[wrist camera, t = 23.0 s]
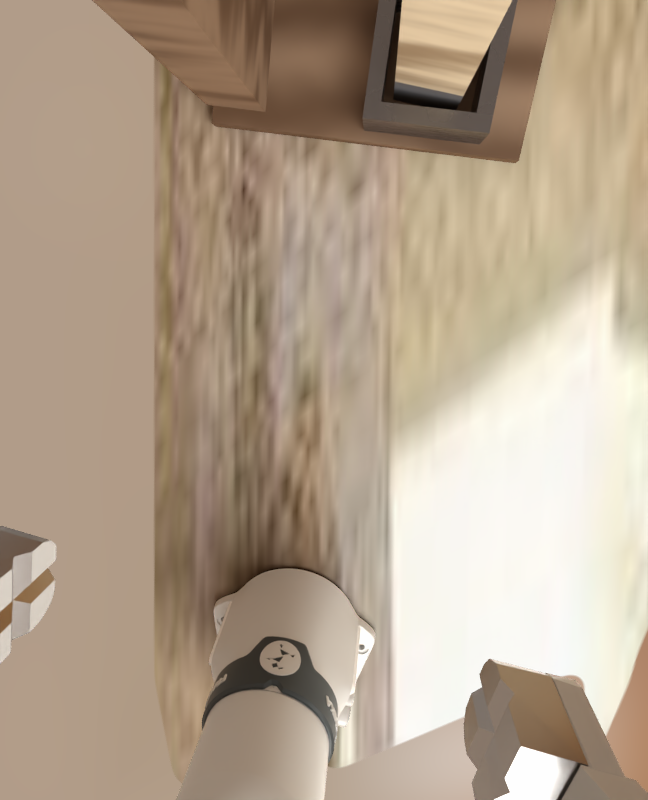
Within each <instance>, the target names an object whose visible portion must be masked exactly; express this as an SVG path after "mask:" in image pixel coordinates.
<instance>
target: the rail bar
mask: <svg viewBox="0 0 648 800" xmlns="http://www.w3.org/2000/svg"><path fill="white" fill-rule="evenodd" d="M511 2H512V0H402V8H401V19H400V30H399V41H398V53H397V64H396V75H395V86H394V98H393V100H397V101H401V102H406V103H410V104H415V105H419V106H424V107H431V108H440V109H449V110H457V108H458V106H459V104H460V102H461V100H462V98H463V96H464V94H465V92H466V90H467V88H468V86H469V84H470V82H471V80H472V78H473V76H474V74H475V72H476V71H477V69H478V67H479V65H480V63H481V61H482V59H483V57H484V55H485V53H486V51H487V49H488V47H489V45H490V43H491V41H492V39H493V37H494V35H495V33H496V31H497V29H498V27H499V26H500V24H501V22H502V20H503V18H504V16H505V14H506V12H507V10H508V8H509V6H510V4H511Z"/></svg>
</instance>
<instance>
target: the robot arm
mask: <svg viewBox="0 0 648 800" xmlns="http://www.w3.org/2000/svg"><path fill="white" fill-rule="evenodd" d="M55 560H56V544H55V543H53V542H52V541H51V540H48V539H44V538H41V537H37V536H34V535H31V534H27V533H24V532H21V531H17V530H14V529H10V528H7V527H4V526H0V663H1V662H2V661H3V660H4V659H5V658H6V657H7V656H8V655H9V654H10V653H11V642H12V640H13V639H15V638H18V637H20V636H22V635H24V634H27V633H29V632H30V631H31V630H32V629H33V628H34V627H35V626H36V625H37V624H38V622H39V621H40V620H41V619H42V617H43V615H44V614H45V612H46V610H47V609H48V607H49V605H50V603H51V600H52V596H53V593H54V586H55V579H54V577H53V575H52V574H51V572H50V570H49V569H48V567H49V566H50V565H51V564H52V563H53V562H54V561H55ZM213 613H214V619H215V626H216V632H217V638H216V641H215V643H214V646H213V649H212V652H211V654H210V658H209V665H211V671H212V677H213V680H214V686H213V688H212V690H211V691H210V694H209V696H208V699H207V702H206V706H205V711H204V715H203V718H202V733H201V735H200V738H199V741H198V743H197V746H196V749H195V751H194V754H193V756H192V759H191V762H190V764H189V767H188V770H187V772H186V775H185V778H184V780H183V783H182V786H181V789H180V791H179V794H178V796H177V799H176V800H324V795H325V786H326V776H327V765H328V763H329V761H330V759H331V757H332V754H333V751H334V745H335V742H336V738H337V730H338V726H341V727H346V726H347V724H348V721H349V717H350V711H351V707H352V705H353V702H354V697H355V693H354V691H355V685H356V681H357V679H358V677H359V674H360V672H361V670H362V668H363V666H364V664H365V662H366V660H367V658H368V656H369V654H370V652H371V649H372V647H373V645H374V643H375V636H376V634H375V631H374V630H373V628H372V627H371V626H370V625H368V624H367V623H366V622H365V621H364V620H362V619H361V618H360V617H359V616H358V615H357V614H356V612H355V610H354V609H353V607H352V605H351V603H350V601H349V600H348V598H347V597H346V596H345V594H344V593H343V592H342V591H341V590H340V589H339V588H338V587H337V586H336V585H334V584H333V583H332V582H330V581H329V580H327V579H325V578H324V577H322V576H320V575H317V574H315V573H312V572H309V571H305V570H300V569H289V568H286V569H275V570H271V571H267V572H264V573H262V574H260V575H258V576H256V577H254V578H253V579H251V580H250V581H249V582H247V583H246V584H245V585H244V586H243V587H242V588H241V589H240V590H239V591H238V592H236V593H234V594H231V595H228V596H225V597H222V598H220V599H219V600H218V601H217V602H216V604H215V607H214V611H213ZM359 644H363V645H359ZM480 679H481V683H482V688H480V689H478V690H477V691H475V692H473V693H472V694H471V696H470V699H469V702H468V704H467V707H466V712H465V720H464V739H465V746H466V752H467V755H468V756H469V758H470V759H471V761H472V762H473V764H474V765H475V767H476V768H477V769H478V770H477V772H476V775H475V777H474V779H473V781H472V786H473V791H474V797H475V800H648V793H647V792H646V791H645V790H644V789H643V788H642V787H641V786H640V785H639V784H638V783H637V782H636V780H633V779H629V778H626V777H625V776H624V773H623V772H622V769H621V767H620V765H619V763H618V761H617V759H616V757H615V755H614V753H613V751H612V749H611V747H610V745H609V743H608V741H607V738H606V736H605V734H604V732H603V730H602V728H601V726H600V724H599V722H598V720H597V718H596V716H595V713H594V711H593V709H592V707H591V705H590V703H589V701H588V699H587V697H586V695H585V693H584V691H583V689H582V687H581V686H580V685H579V684H578V683H577V682H576V681H575V680H572V679H568V678H564V677H560V676H556V675H552V674H548V673H545V674H544V673H542V672H539V671H535V670H531V669H527V668H523V667H519V666H516V665H512V664H508V663H504V662H500V661H496V660H493V659H489V660H488V661H487V662H486V663H485V664H484V666H483V668H482V670H481V673H480Z"/></svg>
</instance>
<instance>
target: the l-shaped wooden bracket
mask: <svg viewBox="0 0 648 800" xmlns="http://www.w3.org/2000/svg"><path fill="white" fill-rule="evenodd" d="M92 1H94V2H95V3H96V4H97V5H98V6H99V7H100V8H101V9H102V10H103V11H104V12H106V13H107V14H108V15H109V16H110V17H111V18H112V19H113V20H114V21H115V22H117V23H118V24H119V25H120V26H121V27H122V28H123V29H124V30H125V31H126V32H127V33H129V34H130V35H131V36H132V37H133V38H134V39H135V40H136V41H138V42H139V43H140V44H141V45H142V46H143V47H144V48H145V49H146V50H148V52H149V53H151V54H152V55H153V56H154V57H155V58H156V59H157V60H158V61H159V62H160V63H162V64H163V65H164V66H165V67H166V68H167V69H168V70H169V71H170V72H171V73H173V74H174V75H175V76H176V77H177V78H178V79H179V80H180V81H181V82H182V83H184V84H185V85H186V86H187V87H188V88H189V89H190V90H191V91H192V92H193V93H195V94H196V95H197V96H198V97H199V98H200V99H201V100H202V101H203V102H204V103H206V104H207V105H212V106H213V111H212V124H214V125H215V126H217V127H226V128H234V129H242V130H250V131H258V132H266V133H274V134H283V135H291V136H299V137H307V138H315V139H323V140H332V141H340V142H348V143H356V144H364V145H372V146H380V147H389V148H397V149H405V150H413V151H421V152H429V153H437V154H446V155H454V156H462V157H470V158H478V159H486V160H495V161H503V162H511V163H516V162H517V161H519V157H520V153H521V148H522V144H523V140H524V135H525V131H526V127H527V123H528V118H529V114H530V110H531V105H532V101H533V97H534V93H535V88H536V84H537V80H538V75H539V71H540V67H541V63H542V58H543V54H544V50H545V45H546V41H547V37H548V33H549V28H550V24H551V20H552V15H553V11H554V7H555V3H556V0H512V2H511V4H510V6H509V8H508V10H507V12H506V14H505V16H504V18H503V20H502V22H501V24H500V26H499V27H498V29H497V31H496V33H495V35H494V37H493V39H492V41H491V43H490V45H489V47H488V49H487V51H486V53H485V55H484V57H483V59H482V61H481V63H480V65H479V67H478V69H477V71H476V72H475V74H474V76H473V78H472V80H471V82H470V84H469V86H468V88H467V90H466V92H465V94H464V96H463V98H462V100H461V102H460V104H459V106H458V108H457V110H449V109H440V108H431V107H424V106H419V105H415V104H410V103H406V102H401V101H397V100H393V98H394V86H395V75H396V64H397V53H398V41H399V30H400V19H401V8H402V0H92Z"/></svg>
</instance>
